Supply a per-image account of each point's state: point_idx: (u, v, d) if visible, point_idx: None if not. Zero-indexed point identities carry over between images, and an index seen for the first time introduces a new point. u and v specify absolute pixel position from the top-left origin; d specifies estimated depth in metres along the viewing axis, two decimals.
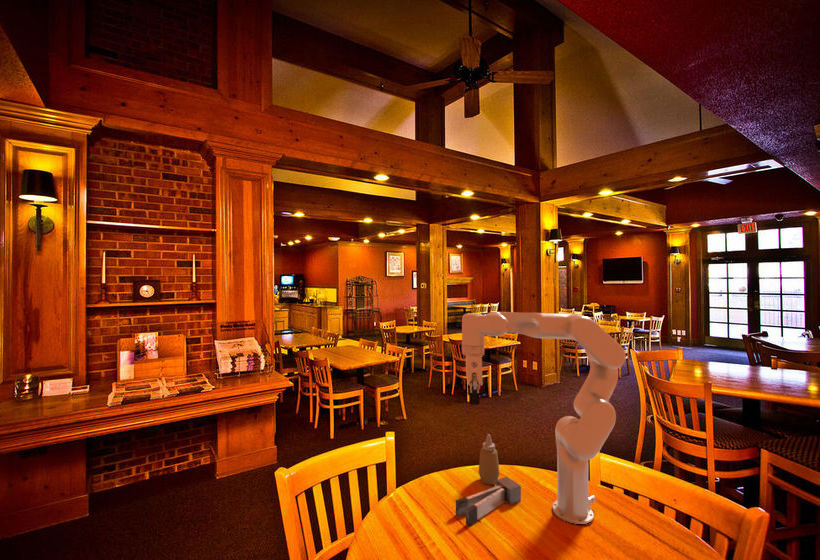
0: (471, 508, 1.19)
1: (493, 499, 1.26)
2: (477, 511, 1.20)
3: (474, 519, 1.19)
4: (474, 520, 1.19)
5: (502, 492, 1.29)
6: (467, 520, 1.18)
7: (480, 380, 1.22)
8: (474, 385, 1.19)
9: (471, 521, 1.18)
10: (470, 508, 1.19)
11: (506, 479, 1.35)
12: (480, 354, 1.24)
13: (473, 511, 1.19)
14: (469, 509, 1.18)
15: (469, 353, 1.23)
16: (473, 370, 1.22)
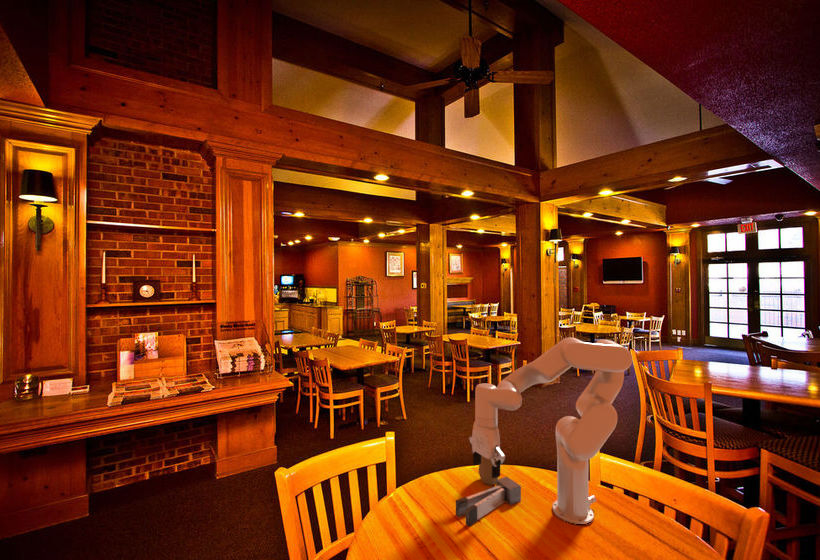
0: (471, 508, 1.19)
1: (493, 499, 1.26)
2: (477, 511, 1.20)
3: (474, 519, 1.19)
4: (474, 520, 1.19)
5: (502, 492, 1.29)
6: (467, 520, 1.18)
7: None
8: None
9: (471, 521, 1.18)
10: (470, 508, 1.19)
11: (506, 479, 1.35)
12: None
13: (473, 511, 1.19)
14: (469, 509, 1.18)
15: None
16: None
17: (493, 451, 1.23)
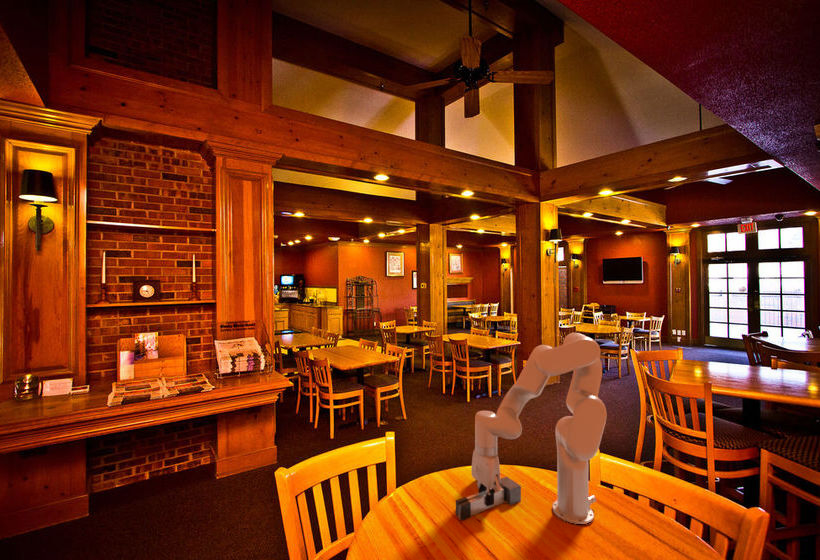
0: (464, 503, 1.21)
1: None
2: (471, 508, 1.22)
3: (467, 515, 1.21)
4: (467, 515, 1.21)
5: (501, 492, 1.29)
6: (460, 515, 1.20)
7: None
8: None
9: (463, 516, 1.21)
10: (463, 503, 1.21)
11: (506, 479, 1.35)
12: None
13: (466, 507, 1.21)
14: (462, 504, 1.21)
15: None
16: None
17: None
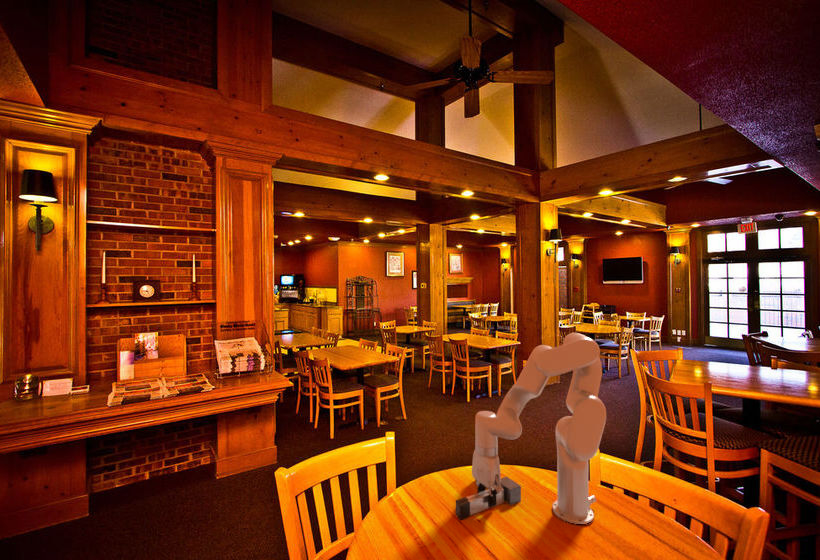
0: (463, 503, 1.22)
1: None
2: (470, 507, 1.23)
3: (466, 514, 1.22)
4: (466, 515, 1.22)
5: (501, 492, 1.29)
6: (459, 514, 1.21)
7: None
8: None
9: (463, 515, 1.21)
10: (462, 503, 1.22)
11: (506, 479, 1.35)
12: None
13: (465, 506, 1.21)
14: (461, 503, 1.21)
15: None
16: None
17: (493, 484, 1.23)
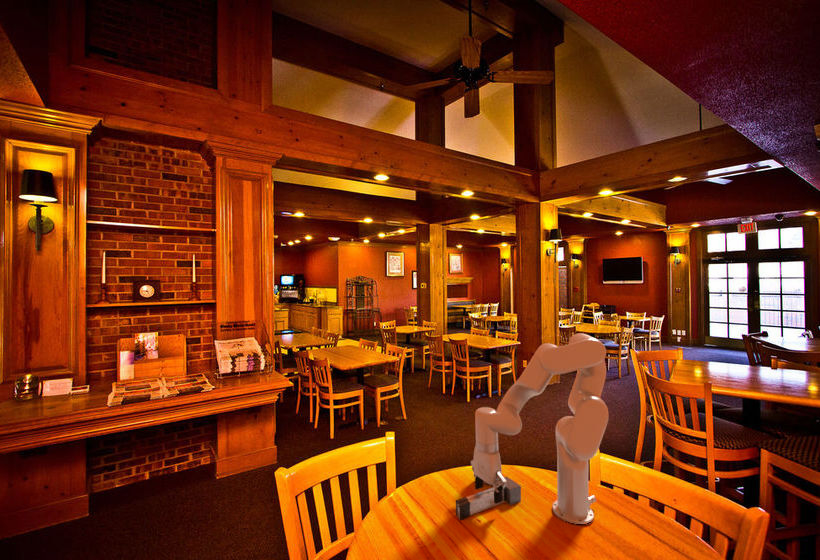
0: (463, 503, 1.22)
1: (490, 497, 1.27)
2: (470, 507, 1.23)
3: (466, 514, 1.22)
4: (466, 515, 1.22)
5: None
6: (459, 514, 1.21)
7: None
8: None
9: (463, 515, 1.21)
10: (462, 503, 1.22)
11: (506, 479, 1.35)
12: None
13: (465, 506, 1.21)
14: (461, 503, 1.21)
15: None
16: None
17: (495, 476, 1.23)
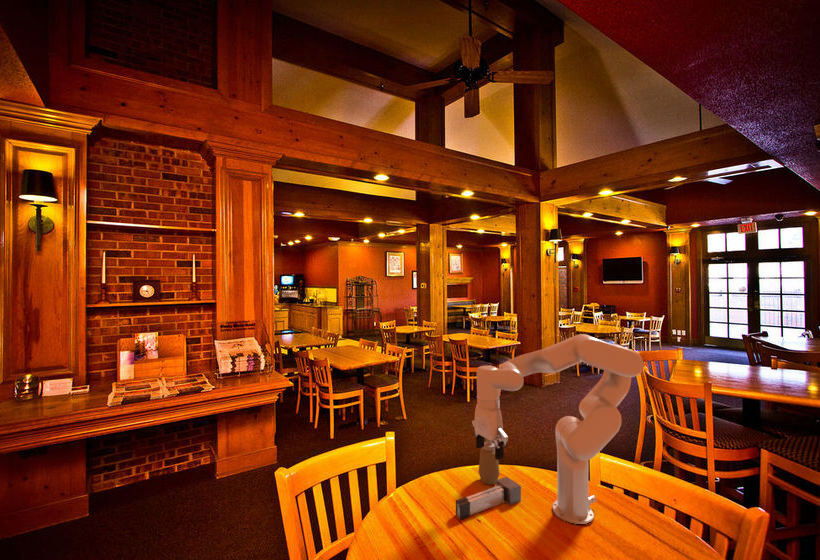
0: (463, 503, 1.22)
1: (490, 497, 1.27)
2: (470, 507, 1.23)
3: (466, 514, 1.22)
4: (466, 515, 1.22)
5: (501, 492, 1.29)
6: (459, 514, 1.21)
7: None
8: None
9: (463, 515, 1.21)
10: (462, 503, 1.22)
11: (506, 479, 1.35)
12: None
13: (465, 506, 1.21)
14: (461, 503, 1.21)
15: None
16: None
17: (496, 432, 1.22)
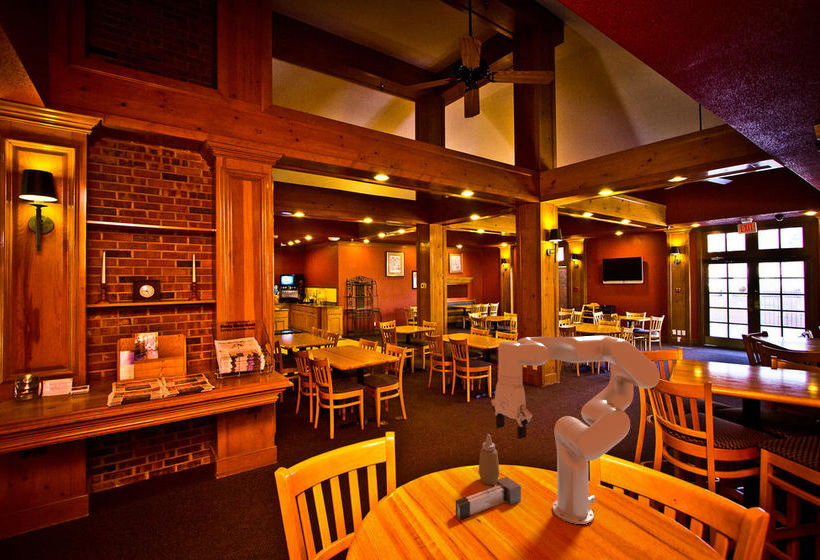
0: (463, 503, 1.22)
1: (490, 497, 1.27)
2: (470, 507, 1.23)
3: (466, 514, 1.22)
4: (466, 515, 1.22)
5: (501, 492, 1.29)
6: (459, 514, 1.21)
7: None
8: None
9: (463, 515, 1.21)
10: (462, 503, 1.22)
11: (506, 479, 1.35)
12: None
13: (465, 506, 1.21)
14: (461, 503, 1.21)
15: None
16: None
17: (519, 410, 1.16)
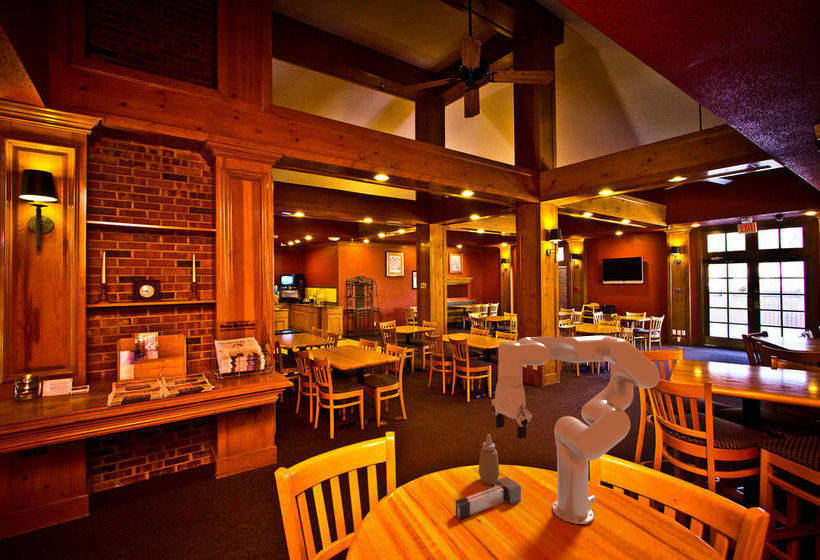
0: (463, 503, 1.22)
1: (490, 497, 1.27)
2: (470, 507, 1.23)
3: (466, 514, 1.22)
4: (466, 515, 1.22)
5: (501, 492, 1.29)
6: (459, 514, 1.21)
7: None
8: None
9: (463, 515, 1.21)
10: (462, 503, 1.22)
11: (506, 479, 1.35)
12: None
13: (465, 506, 1.21)
14: (461, 503, 1.21)
15: None
16: None
17: (519, 410, 1.16)
